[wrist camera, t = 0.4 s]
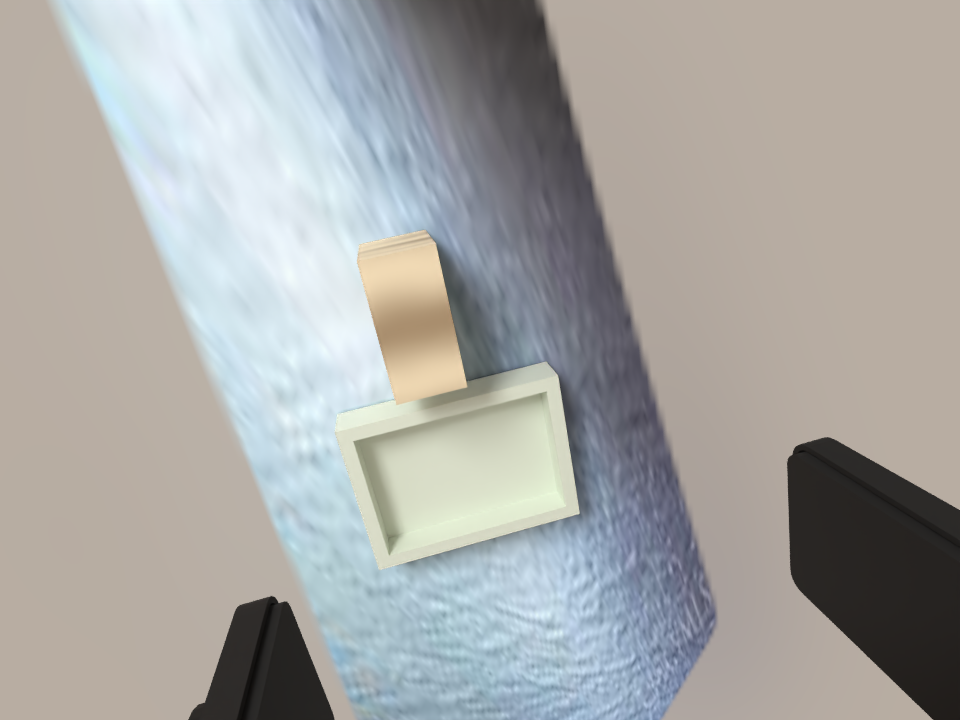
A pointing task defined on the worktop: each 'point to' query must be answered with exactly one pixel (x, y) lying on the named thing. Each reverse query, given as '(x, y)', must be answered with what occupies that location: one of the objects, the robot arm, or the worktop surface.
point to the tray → (460, 464)
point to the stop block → (411, 315)
